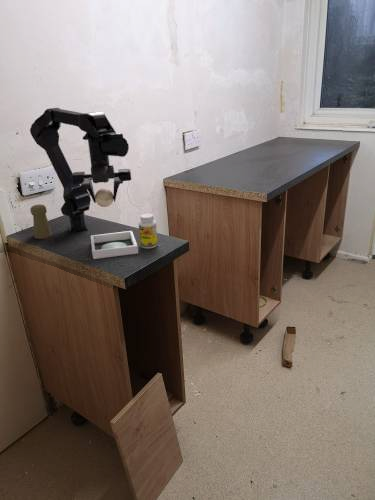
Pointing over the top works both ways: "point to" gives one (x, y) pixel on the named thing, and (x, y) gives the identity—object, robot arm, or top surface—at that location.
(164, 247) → the top surface
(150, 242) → the supplement bottle
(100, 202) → the wooden ball
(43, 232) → the cork
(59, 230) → the top surface
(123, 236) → the white square frame
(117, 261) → the top surface
